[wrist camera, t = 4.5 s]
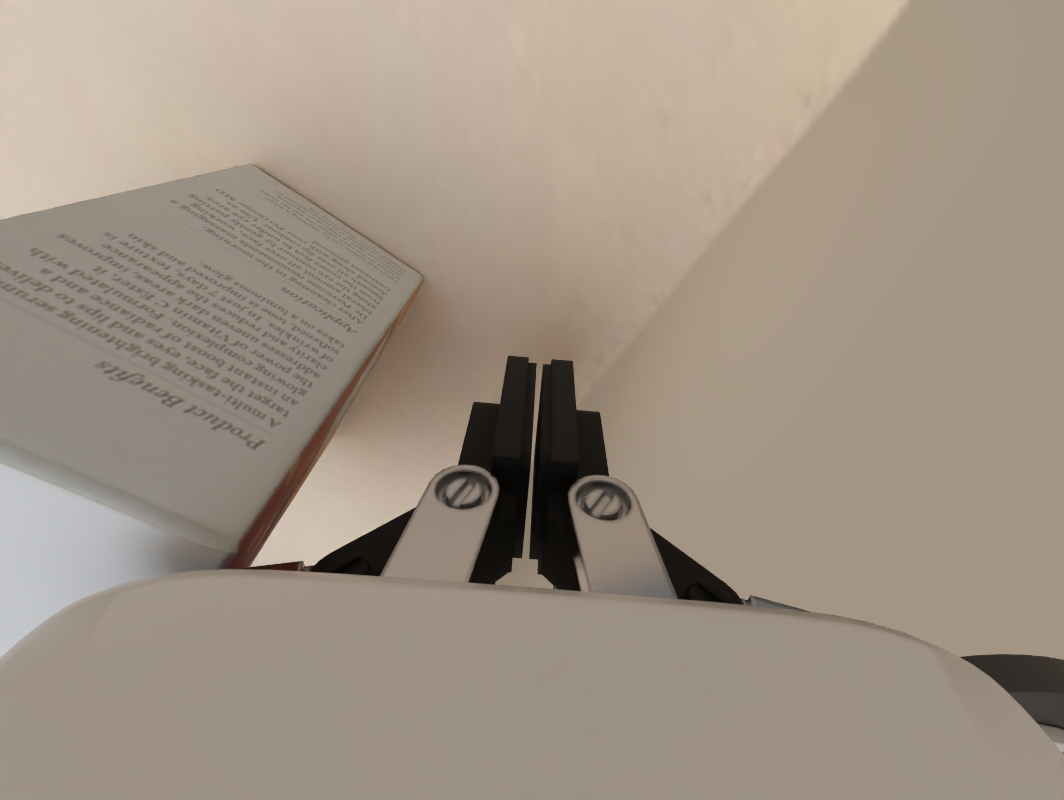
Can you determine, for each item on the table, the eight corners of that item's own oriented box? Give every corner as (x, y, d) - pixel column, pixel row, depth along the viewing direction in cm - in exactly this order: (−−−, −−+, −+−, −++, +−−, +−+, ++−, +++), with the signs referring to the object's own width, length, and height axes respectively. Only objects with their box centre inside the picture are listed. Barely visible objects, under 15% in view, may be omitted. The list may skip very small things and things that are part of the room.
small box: (331, 440, 18) (122, 770, 9) (180, 363, 17) (-241, 675, 8) (432, 273, 14) (242, 563, 6) (250, 153, 13) (-408, 299, 4)
